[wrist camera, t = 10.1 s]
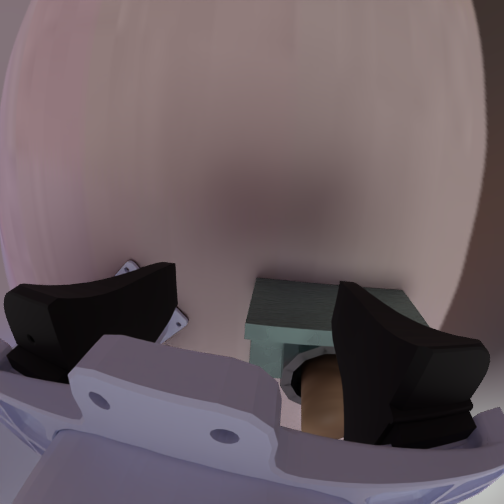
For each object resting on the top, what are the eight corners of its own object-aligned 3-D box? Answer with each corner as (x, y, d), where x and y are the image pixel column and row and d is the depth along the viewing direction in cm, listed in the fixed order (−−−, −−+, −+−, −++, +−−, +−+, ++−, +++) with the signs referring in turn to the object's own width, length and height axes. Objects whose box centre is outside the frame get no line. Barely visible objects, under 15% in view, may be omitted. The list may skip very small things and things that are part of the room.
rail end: (317, 377, 24) (321, 446, 16) (291, 354, 23) (289, 426, 16) (352, 356, 23) (368, 425, 15) (328, 330, 22) (340, 402, 14)
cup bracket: (371, 376, 25) (385, 424, 19) (249, 369, 26) (239, 421, 20) (402, 290, 22) (433, 333, 15) (256, 277, 23) (245, 323, 17)
